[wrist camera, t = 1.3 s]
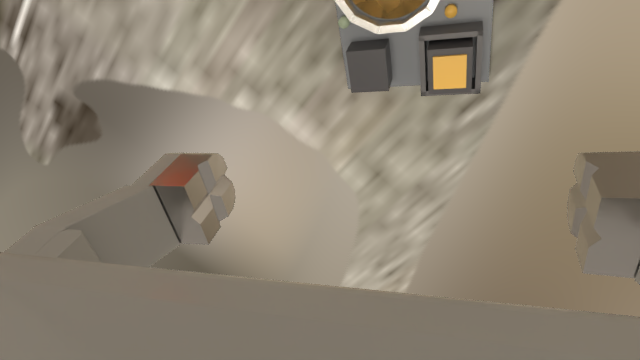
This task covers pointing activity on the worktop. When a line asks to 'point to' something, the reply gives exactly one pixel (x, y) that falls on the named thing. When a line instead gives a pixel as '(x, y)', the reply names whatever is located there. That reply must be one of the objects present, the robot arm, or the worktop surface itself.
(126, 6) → the worktop surface
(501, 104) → the worktop surface
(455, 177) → the worktop surface
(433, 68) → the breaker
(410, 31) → the panel
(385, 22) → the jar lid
